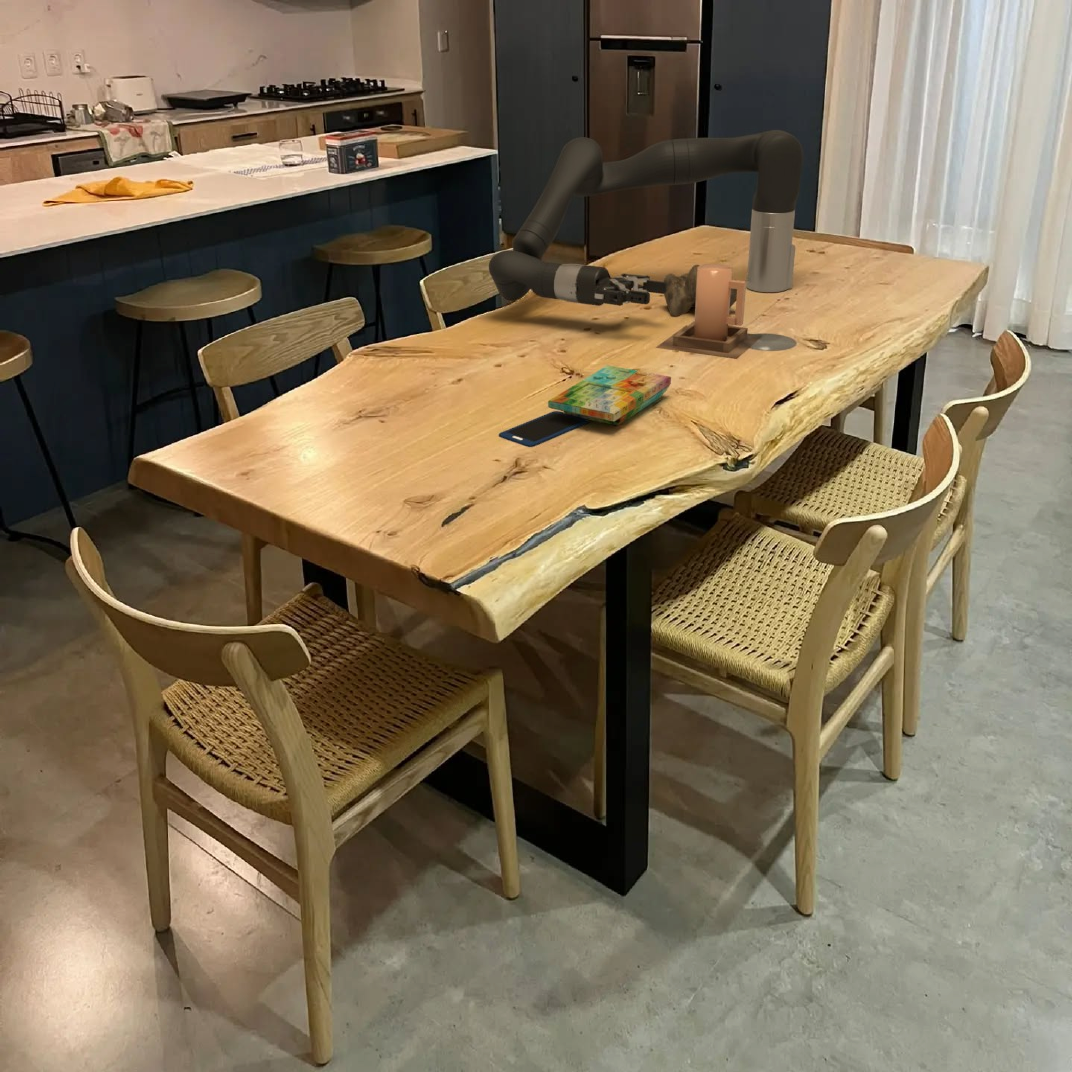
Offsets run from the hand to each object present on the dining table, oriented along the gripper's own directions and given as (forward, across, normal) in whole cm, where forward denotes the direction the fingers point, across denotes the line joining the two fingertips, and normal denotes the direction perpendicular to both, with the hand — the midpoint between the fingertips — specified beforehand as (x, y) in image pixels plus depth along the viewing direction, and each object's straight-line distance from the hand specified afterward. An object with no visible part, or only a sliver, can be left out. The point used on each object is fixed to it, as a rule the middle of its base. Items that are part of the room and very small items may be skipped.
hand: (657, 293), depth 207 cm
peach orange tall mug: (+13, 0, -8) cm, 15 cm away
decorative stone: (+2, -20, -9) cm, 22 cm away
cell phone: (+3, +52, -9) cm, 53 cm away
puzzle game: (+8, +40, -9) cm, 42 cm away
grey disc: (+21, -4, -9) cm, 23 cm away
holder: (+11, 0, -9) cm, 14 cm away
